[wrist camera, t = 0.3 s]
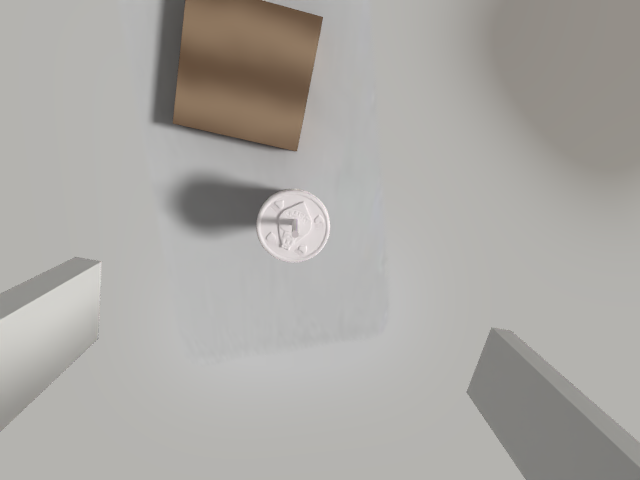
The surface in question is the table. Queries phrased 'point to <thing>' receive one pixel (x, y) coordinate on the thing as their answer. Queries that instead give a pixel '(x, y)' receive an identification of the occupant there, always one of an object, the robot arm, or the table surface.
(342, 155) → the table surface
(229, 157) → the table surface
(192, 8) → the walnut base
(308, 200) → the smoothie
